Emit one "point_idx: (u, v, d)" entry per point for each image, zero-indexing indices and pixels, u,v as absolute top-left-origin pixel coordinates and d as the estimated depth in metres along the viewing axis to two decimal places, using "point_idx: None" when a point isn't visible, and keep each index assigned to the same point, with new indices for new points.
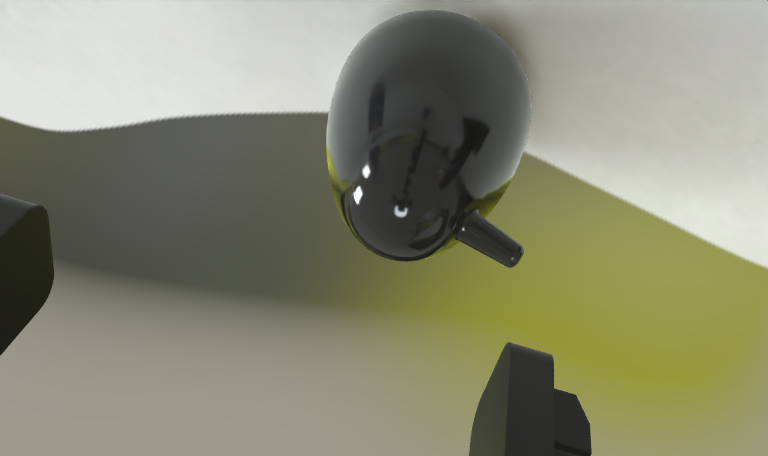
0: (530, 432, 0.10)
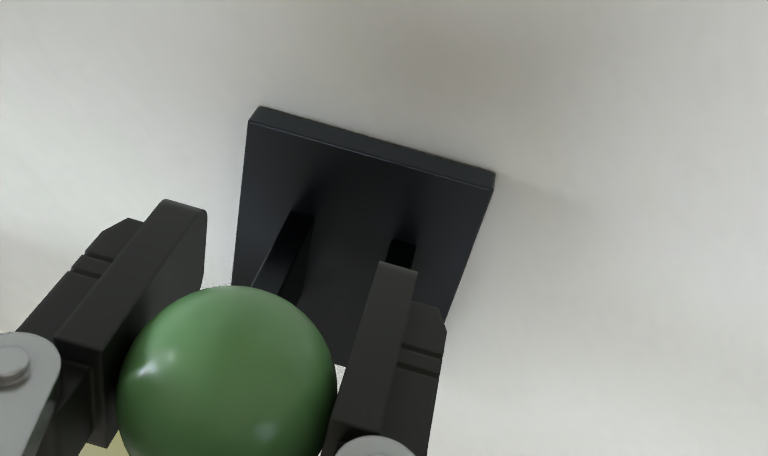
0: (381, 331, 0.11)
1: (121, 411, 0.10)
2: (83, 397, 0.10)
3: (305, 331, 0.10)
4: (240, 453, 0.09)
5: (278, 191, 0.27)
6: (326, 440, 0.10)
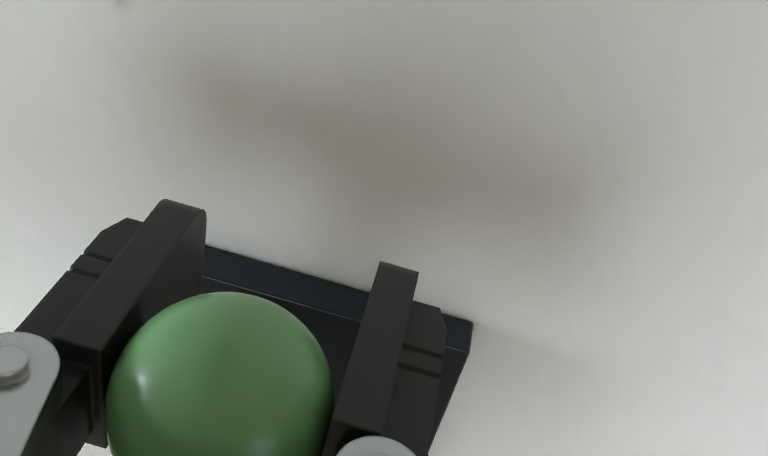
0: (382, 332, 0.11)
1: (123, 372, 0.09)
2: (82, 397, 0.10)
3: (309, 331, 0.11)
4: (254, 393, 0.09)
5: None
6: (327, 440, 0.10)
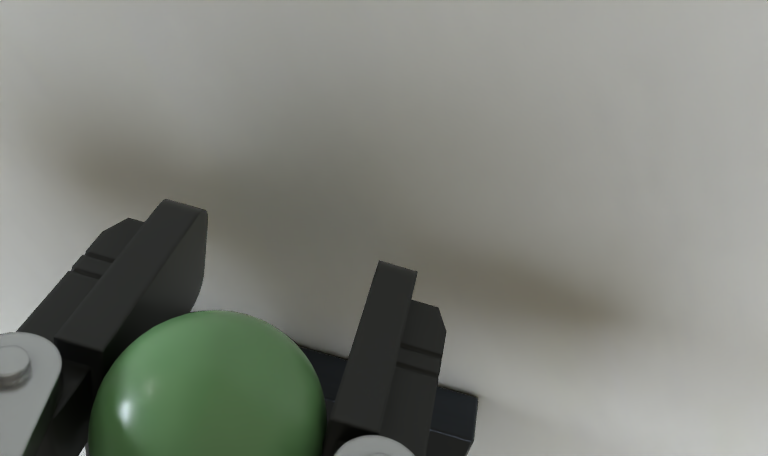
0: (380, 331, 0.11)
1: (120, 367, 0.09)
2: (84, 397, 0.10)
3: None
4: (259, 378, 0.09)
5: None
6: (325, 440, 0.10)
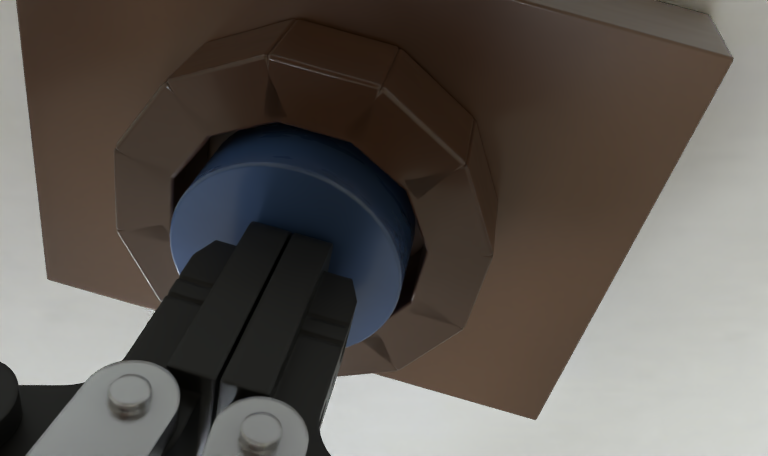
0: (284, 299, 0.11)
1: None
2: (194, 424, 0.10)
3: None
4: None
5: None
6: (219, 402, 0.10)
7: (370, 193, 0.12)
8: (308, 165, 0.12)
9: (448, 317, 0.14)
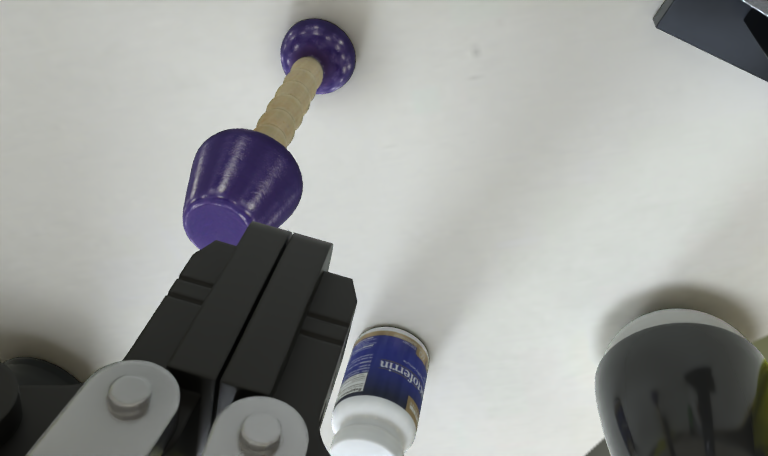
0: (284, 299, 0.11)
1: None
2: (193, 424, 0.10)
3: None
4: None
5: (722, 24, 0.34)
6: (219, 403, 0.10)
7: None
8: None
9: None
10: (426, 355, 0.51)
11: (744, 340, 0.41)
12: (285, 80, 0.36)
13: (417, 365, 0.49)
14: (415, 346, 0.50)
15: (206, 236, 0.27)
